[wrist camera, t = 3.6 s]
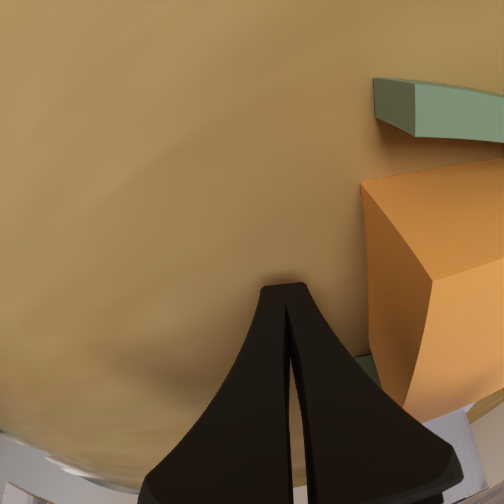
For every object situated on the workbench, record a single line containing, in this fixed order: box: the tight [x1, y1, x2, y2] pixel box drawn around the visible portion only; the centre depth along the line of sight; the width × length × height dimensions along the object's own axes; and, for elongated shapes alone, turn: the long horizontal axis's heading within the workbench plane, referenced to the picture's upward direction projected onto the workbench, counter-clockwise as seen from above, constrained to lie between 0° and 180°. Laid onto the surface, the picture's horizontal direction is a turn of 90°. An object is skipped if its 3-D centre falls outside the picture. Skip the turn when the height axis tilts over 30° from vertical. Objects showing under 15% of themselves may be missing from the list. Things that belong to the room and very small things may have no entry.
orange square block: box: [360, 158, 504, 424], centre depth 8 cm, size 8×8×5 cm
